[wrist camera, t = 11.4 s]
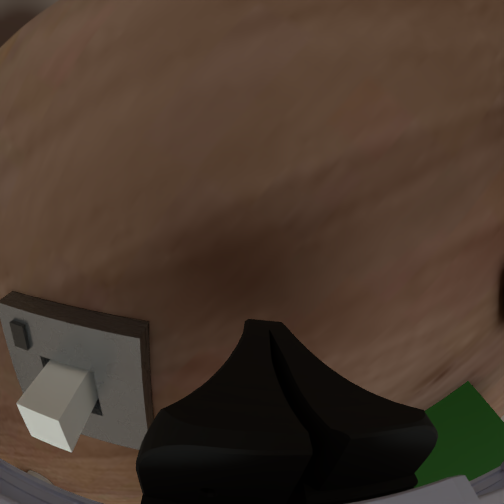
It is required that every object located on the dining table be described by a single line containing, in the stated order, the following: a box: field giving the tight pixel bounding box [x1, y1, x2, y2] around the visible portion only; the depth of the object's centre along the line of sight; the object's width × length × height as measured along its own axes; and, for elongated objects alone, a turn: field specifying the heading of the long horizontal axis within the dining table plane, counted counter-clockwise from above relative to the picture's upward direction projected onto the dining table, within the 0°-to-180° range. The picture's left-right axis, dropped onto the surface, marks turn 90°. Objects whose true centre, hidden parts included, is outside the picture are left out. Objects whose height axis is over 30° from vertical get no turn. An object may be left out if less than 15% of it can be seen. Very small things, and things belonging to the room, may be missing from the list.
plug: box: [16, 359, 99, 452], centre depth 19 cm, size 4×4×8 cm
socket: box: [0, 291, 154, 450], centre depth 22 cm, size 14×14×3 cm
